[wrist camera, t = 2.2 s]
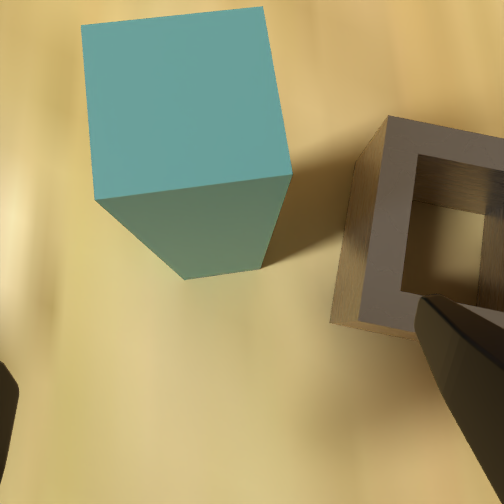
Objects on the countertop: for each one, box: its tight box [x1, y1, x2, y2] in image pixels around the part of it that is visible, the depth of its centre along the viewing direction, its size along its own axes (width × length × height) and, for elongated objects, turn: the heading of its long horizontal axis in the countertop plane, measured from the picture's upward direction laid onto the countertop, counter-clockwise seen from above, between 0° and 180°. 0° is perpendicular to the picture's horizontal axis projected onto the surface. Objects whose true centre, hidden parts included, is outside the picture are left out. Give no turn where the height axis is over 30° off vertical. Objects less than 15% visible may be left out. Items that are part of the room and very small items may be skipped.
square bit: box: [81, 6, 293, 280], centre depth 15 cm, size 4×4×13 cm
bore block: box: [329, 115, 504, 341], centre depth 19 cm, size 9×9×5 cm
